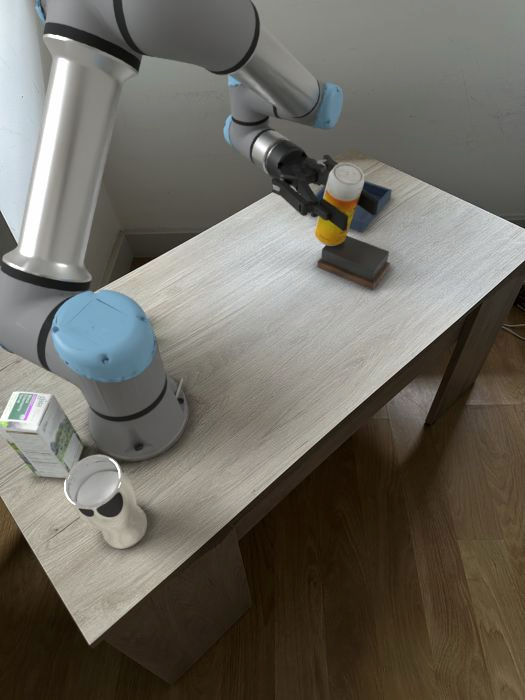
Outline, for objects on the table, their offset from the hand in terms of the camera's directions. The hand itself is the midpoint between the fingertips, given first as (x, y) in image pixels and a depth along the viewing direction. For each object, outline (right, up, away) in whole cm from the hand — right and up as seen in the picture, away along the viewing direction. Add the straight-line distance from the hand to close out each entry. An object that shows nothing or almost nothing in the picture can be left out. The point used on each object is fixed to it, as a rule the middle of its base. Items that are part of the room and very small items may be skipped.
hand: (360, 216), depth 89 cm
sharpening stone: (+1, -7, +12) cm, 14 cm away
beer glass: (-36, -47, -18) cm, 62 cm away
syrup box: (-47, -40, -11) cm, 63 cm away
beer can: (-4, -1, +11) cm, 11 cm away
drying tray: (+2, +8, +24) cm, 26 cm away
